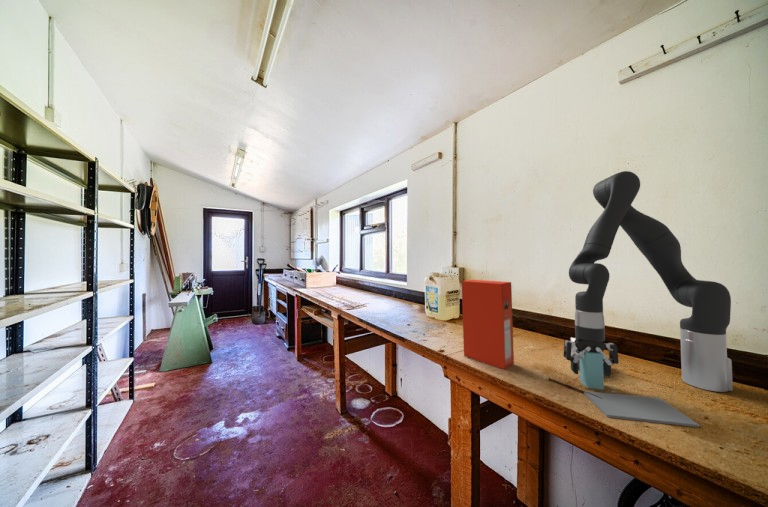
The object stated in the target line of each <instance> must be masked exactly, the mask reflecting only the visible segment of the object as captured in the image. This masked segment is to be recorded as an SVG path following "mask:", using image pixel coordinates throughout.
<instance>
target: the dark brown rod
mask: <svg viewBox="0 0 768 507" xmlns="http://www.w3.org/2000/svg"><path fill="white" fill-rule="evenodd" d="M548 381H549V382H552V383H555V384H558V385H560V386H563V387H564V388H568V389H571V390H573V391H576V392H578V393H580V394H583V395H585V394H584V392H586V390H583V389H579V388H578V387H575V386H572V385H569V384H567V383H564V382H561V381H558V380H556V379H553V378H550V377H548ZM588 392H589V391H588ZM588 392H586V393H588ZM589 394H591V393H589ZM591 395H594V394H591ZM594 396H596V395H594ZM597 397H599V396H597ZM599 398H601V397H599ZM602 399H603V398H602Z"/></svg>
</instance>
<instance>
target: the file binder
mask: <svg viewBox="0 0 768 507" xmlns="http://www.w3.org/2000/svg"><path fill="white" fill-rule="evenodd" d="M512 296H513V295H512V282H511V281H497V280H482V279H481V280H480V279H466V280H462V281H461V299H462V300H461V301H462V302H461V303H462V332H463V333H462V334H463V335H462V337H463V338H462V339H463V357H465V356H467V357H466V358H468V357H470V358H469V359H471V358H473V359H472V360H474V359H475V361H477V360H478V361H477V362H480V361H481V362H480V363H483V362H484V363H483V364H486V365H489V366H493V367H494V368H498V369H501V370H506V369H508V368H510V367H512V366H513V365H514V363H515V360H514V357H515V356H514V355H515V354H514V330H513V329H514V328H513V327H514V326H513V325H514V324H513V297H512Z"/></svg>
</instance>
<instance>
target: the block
mask: <svg viewBox="0 0 768 507" xmlns="http://www.w3.org/2000/svg"><path fill="white" fill-rule="evenodd" d="M579 361H580V371H579V381H580V382H581V384H582V385H583V386H585V387H586V388H587V389H596V390H605V383H604V382H605V380H604V376H605V375H604V374H603V363H604V361H603V354H602V353H598V352H585V355H584V357H583V358H581V359H579Z"/></svg>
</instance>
